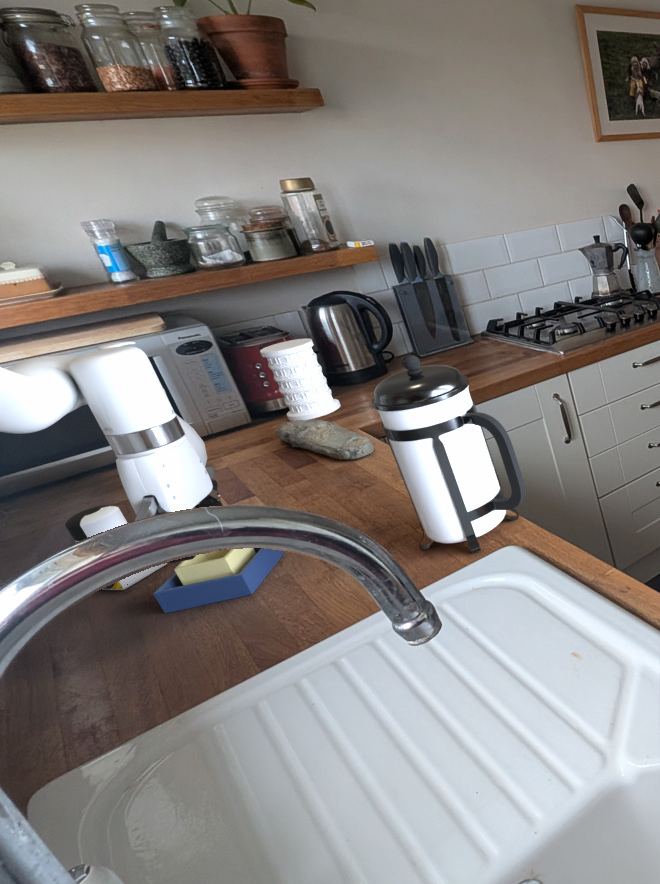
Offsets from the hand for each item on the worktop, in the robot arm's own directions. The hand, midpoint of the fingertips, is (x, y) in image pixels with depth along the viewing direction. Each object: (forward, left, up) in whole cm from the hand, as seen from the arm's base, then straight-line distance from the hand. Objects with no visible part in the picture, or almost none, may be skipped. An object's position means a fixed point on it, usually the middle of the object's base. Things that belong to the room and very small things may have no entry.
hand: (201, 542), depth 100 cm
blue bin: (+1, 0, -7) cm, 7 cm away
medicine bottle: (-17, +9, -8) cm, 21 cm away
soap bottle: (-31, +52, -8) cm, 61 cm away
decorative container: (-16, +83, -8) cm, 85 cm away
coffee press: (+37, -1, -8) cm, 38 cm away
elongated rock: (-4, +55, -8) cm, 56 cm away
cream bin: (+1, 0, -7) cm, 7 cm away
